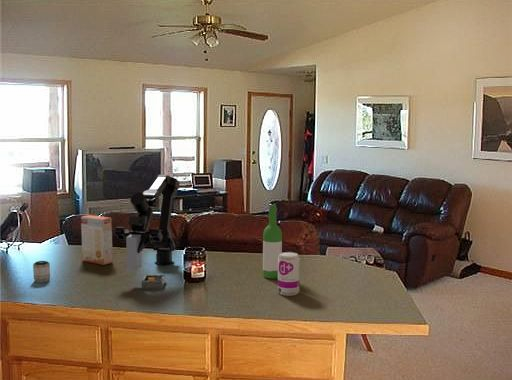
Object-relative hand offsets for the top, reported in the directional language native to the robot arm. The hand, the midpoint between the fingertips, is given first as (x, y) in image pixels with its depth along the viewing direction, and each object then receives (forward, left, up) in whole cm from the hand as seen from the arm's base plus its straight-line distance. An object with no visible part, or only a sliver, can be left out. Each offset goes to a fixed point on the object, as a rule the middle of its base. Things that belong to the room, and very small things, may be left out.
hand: (132, 252), depth 223 cm
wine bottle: (-45, +34, -14) cm, 58 cm away
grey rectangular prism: (-1, -1, -7) cm, 7 cm away
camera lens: (+20, -33, -14) cm, 41 cm away
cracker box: (-12, -41, -14) cm, 45 cm away
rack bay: (-5, +6, -13) cm, 16 cm away
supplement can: (-32, +52, -14) cm, 62 cm away
